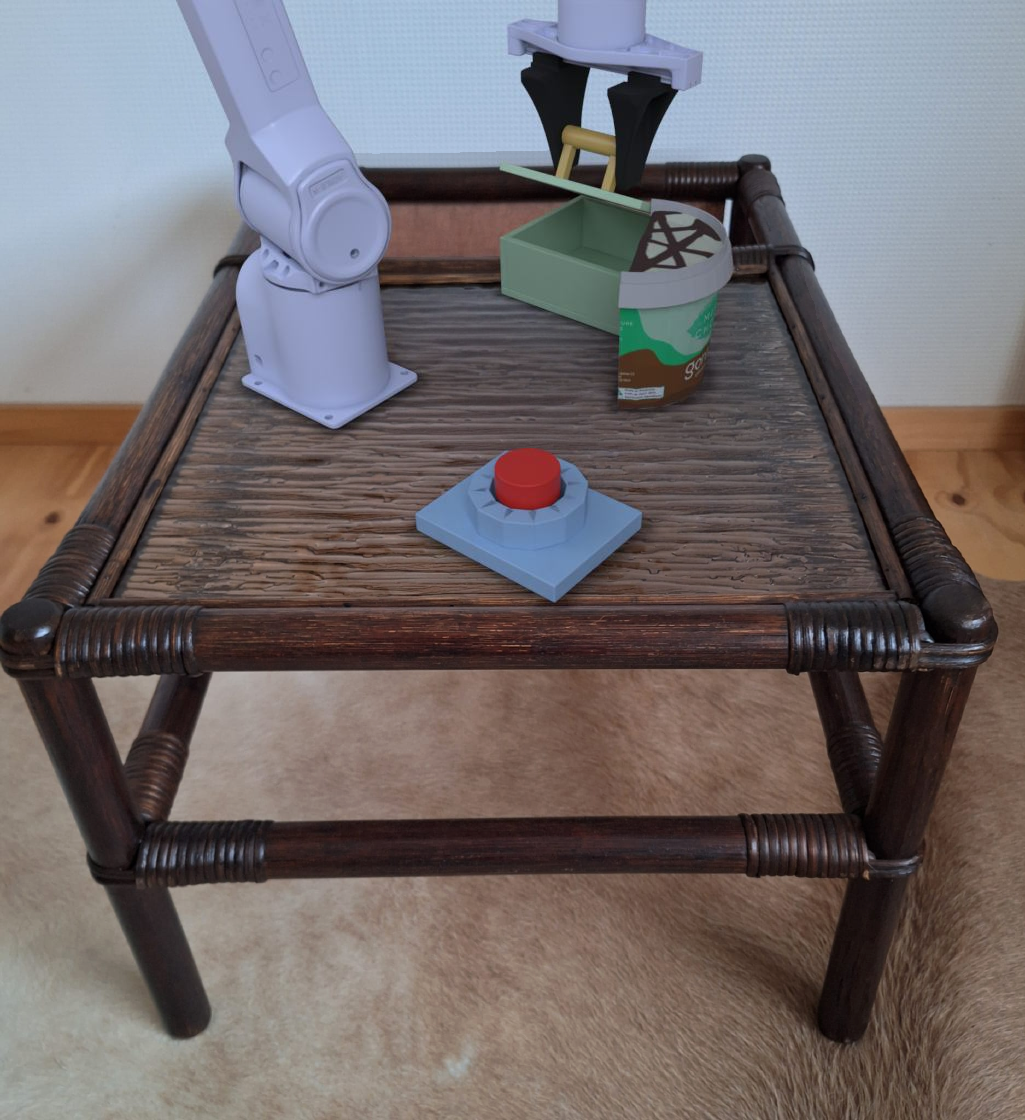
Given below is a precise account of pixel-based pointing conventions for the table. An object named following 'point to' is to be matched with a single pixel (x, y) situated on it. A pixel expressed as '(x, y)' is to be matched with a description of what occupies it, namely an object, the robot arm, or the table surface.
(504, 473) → the button
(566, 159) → the lid
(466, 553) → the switch block
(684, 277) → the food container
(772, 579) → the table surface
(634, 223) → the chest
